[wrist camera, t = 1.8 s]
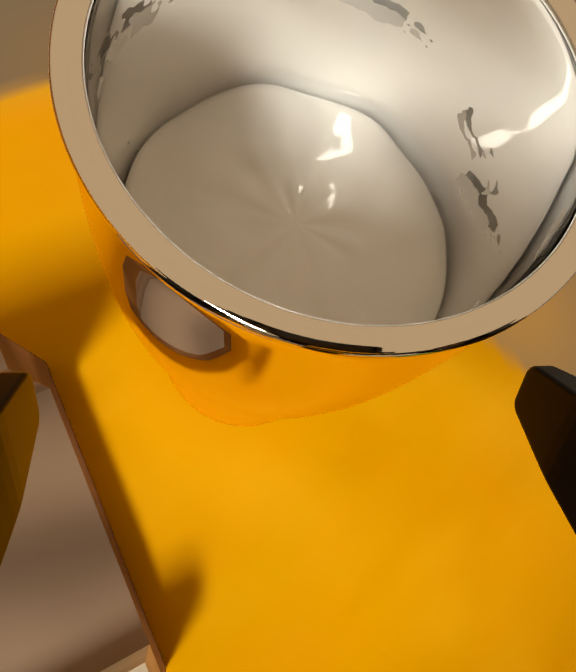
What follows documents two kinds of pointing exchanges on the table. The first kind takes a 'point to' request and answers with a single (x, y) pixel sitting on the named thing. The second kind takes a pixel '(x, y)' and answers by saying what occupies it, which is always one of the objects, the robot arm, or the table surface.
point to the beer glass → (319, 184)
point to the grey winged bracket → (65, 559)
